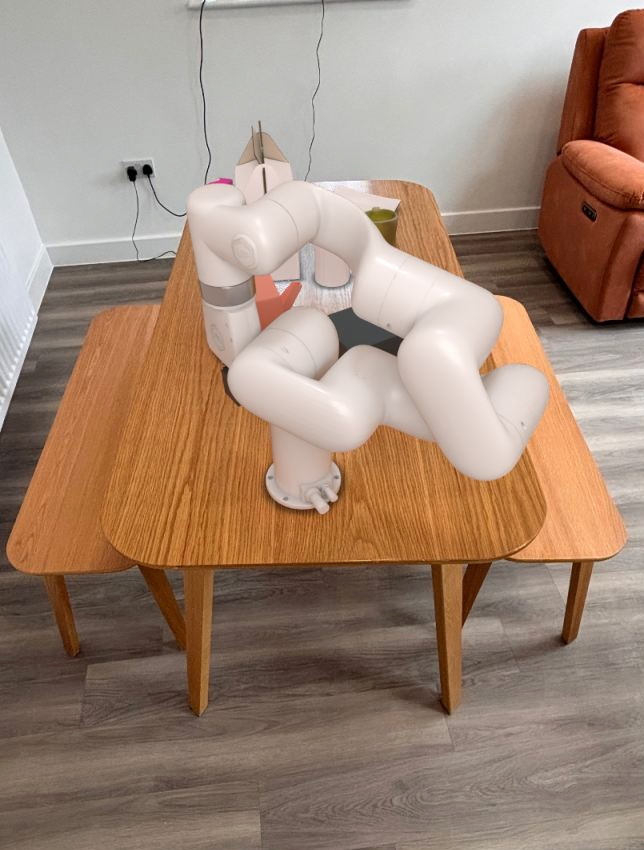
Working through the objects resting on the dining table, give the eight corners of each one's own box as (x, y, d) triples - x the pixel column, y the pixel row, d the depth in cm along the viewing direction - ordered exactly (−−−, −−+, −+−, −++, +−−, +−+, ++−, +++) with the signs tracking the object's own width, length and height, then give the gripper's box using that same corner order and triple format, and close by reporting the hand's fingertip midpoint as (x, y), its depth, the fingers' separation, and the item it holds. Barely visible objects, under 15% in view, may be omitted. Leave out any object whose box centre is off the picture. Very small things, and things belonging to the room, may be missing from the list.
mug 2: (402, 253, 153) (392, 209, 147) (360, 263, 156) (350, 221, 151) (406, 238, 162) (398, 197, 157) (367, 248, 166) (358, 208, 160)
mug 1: (367, 286, 147) (369, 244, 140) (315, 288, 147) (315, 247, 140) (364, 268, 152) (366, 227, 145) (314, 270, 152) (313, 229, 145)
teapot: (221, 375, 127) (211, 314, 116) (202, 316, 141) (192, 256, 130) (317, 357, 130) (316, 295, 119) (290, 301, 144) (287, 241, 133)
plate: (405, 209, 172) (406, 199, 170) (369, 241, 161) (369, 231, 159) (339, 193, 179) (339, 183, 177) (300, 223, 168) (300, 213, 166)
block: (262, 396, 99) (260, 373, 96) (238, 407, 98) (234, 383, 95) (248, 382, 102) (245, 359, 99) (224, 392, 100) (220, 369, 97)
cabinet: (377, 338, 134) (380, 296, 126) (412, 370, 126) (417, 328, 119) (317, 360, 129) (316, 318, 122) (349, 394, 122) (351, 352, 115)
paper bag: (242, 238, 164) (229, 116, 142) (293, 234, 164) (288, 112, 143) (243, 284, 149) (229, 155, 128) (300, 280, 150) (295, 151, 128)
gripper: (175, 269, 90) (198, 375, 103) (233, 323, 80) (250, 432, 94) (222, 253, 92) (238, 359, 106) (284, 303, 83) (293, 412, 96)
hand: (243, 392), depth 100 cm, fingers closed on block, 4 cm apart
